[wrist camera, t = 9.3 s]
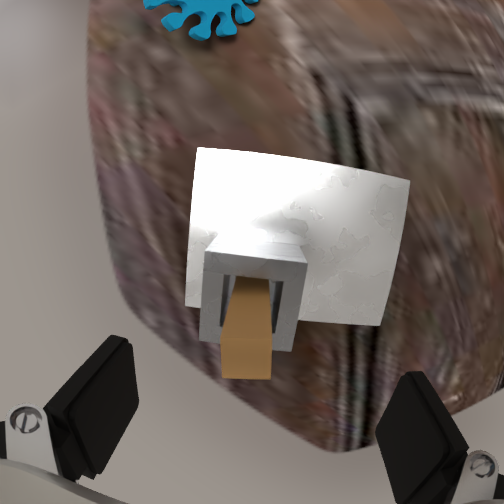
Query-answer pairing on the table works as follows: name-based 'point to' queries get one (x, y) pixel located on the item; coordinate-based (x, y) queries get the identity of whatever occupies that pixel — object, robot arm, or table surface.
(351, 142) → the table surface
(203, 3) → the blue spiky virus toy
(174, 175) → the table surface
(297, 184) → the grey square socket base
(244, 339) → the tan square peg
